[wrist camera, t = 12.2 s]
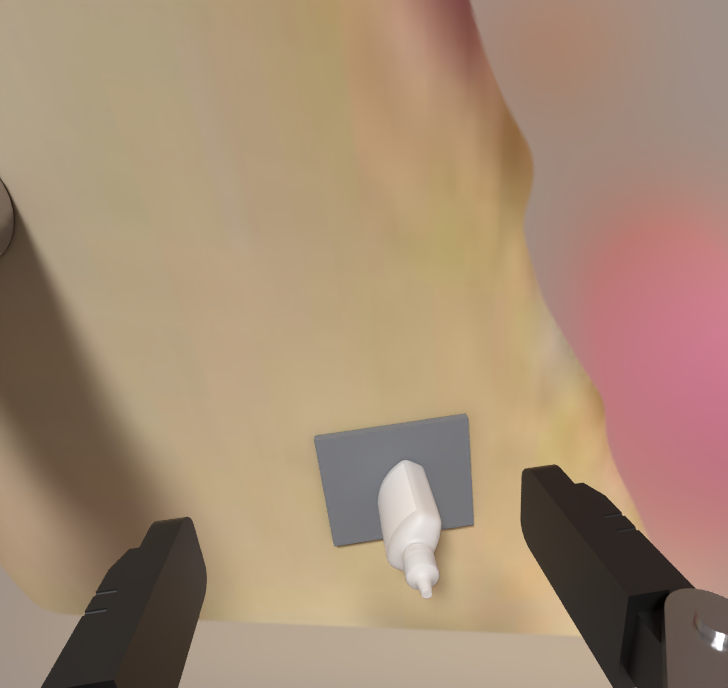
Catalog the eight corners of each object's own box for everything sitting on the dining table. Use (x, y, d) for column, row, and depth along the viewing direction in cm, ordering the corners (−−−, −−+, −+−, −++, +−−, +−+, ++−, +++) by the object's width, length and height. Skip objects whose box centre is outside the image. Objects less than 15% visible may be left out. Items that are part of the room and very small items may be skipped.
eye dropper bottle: (362, 483, 40) (374, 595, 28) (412, 451, 39) (446, 553, 28) (387, 513, 41) (409, 632, 30) (436, 484, 40) (478, 594, 29)
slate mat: (334, 540, 42) (334, 546, 42) (314, 435, 39) (314, 440, 38) (471, 518, 43) (473, 524, 42) (465, 413, 39) (468, 417, 38)
